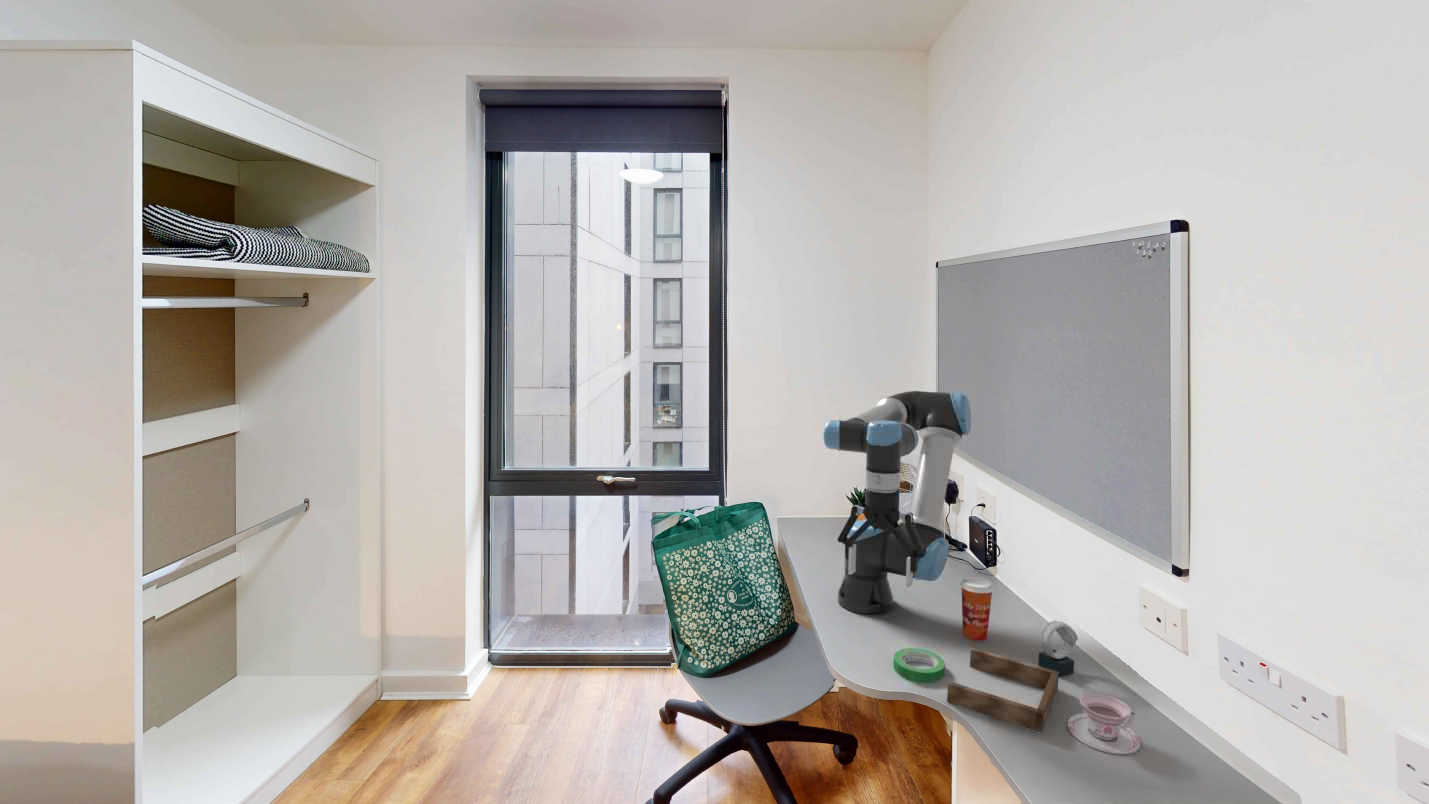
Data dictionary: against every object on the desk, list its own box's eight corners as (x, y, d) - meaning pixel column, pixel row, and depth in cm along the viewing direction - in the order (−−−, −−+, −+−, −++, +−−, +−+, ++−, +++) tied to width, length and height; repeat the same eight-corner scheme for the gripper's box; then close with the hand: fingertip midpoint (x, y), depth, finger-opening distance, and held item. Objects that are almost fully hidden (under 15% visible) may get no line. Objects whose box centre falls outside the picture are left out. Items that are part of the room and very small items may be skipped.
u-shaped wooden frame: (947, 701, 133) (947, 683, 132) (971, 664, 147) (972, 647, 147) (1041, 733, 122) (1042, 713, 122) (1057, 689, 137) (1058, 671, 136)
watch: (1080, 672, 144) (1083, 625, 142) (1052, 679, 141) (1055, 631, 140) (1058, 660, 149) (1061, 614, 148) (1032, 666, 146) (1034, 620, 145)
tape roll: (922, 654, 152) (922, 643, 152) (955, 677, 142) (956, 666, 142) (883, 663, 148) (883, 652, 148) (914, 688, 138) (915, 676, 138)
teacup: (1076, 749, 118) (1078, 718, 117) (1060, 711, 129) (1061, 683, 129) (1151, 761, 115) (1153, 728, 114) (1127, 721, 126) (1129, 691, 125)
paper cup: (960, 640, 158) (962, 586, 156) (956, 626, 166) (958, 574, 164) (994, 644, 156) (997, 589, 155) (989, 630, 164) (991, 577, 162)
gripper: (825, 484, 150) (823, 572, 152) (933, 500, 137) (930, 596, 139) (837, 478, 156) (835, 563, 159) (943, 493, 143) (939, 585, 145)
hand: (879, 578), depth 149 cm, fingers open, 13 cm apart
